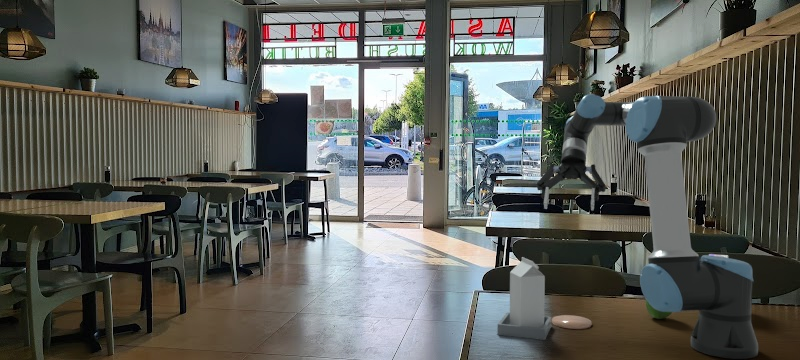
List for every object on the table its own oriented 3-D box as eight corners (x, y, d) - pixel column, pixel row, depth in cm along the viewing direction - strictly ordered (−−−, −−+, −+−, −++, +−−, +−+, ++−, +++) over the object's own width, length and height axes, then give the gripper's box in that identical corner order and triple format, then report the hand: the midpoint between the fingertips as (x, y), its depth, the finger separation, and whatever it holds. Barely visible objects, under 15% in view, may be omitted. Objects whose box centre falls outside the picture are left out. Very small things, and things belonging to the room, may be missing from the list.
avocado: (644, 320, 185) (645, 279, 184) (646, 313, 192) (647, 274, 191) (673, 323, 181) (675, 282, 180) (674, 316, 188) (675, 277, 188)
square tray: (551, 326, 178) (551, 316, 178) (544, 339, 167) (544, 329, 166) (506, 321, 183) (507, 312, 183) (497, 334, 171) (497, 324, 171)
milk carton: (520, 332, 170) (521, 262, 169) (509, 324, 177) (510, 257, 176) (544, 330, 172) (545, 261, 171) (532, 323, 179) (533, 256, 178)
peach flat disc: (599, 324, 180) (599, 321, 180) (574, 331, 174) (574, 328, 174) (568, 315, 189) (568, 313, 189) (543, 322, 183) (543, 319, 183)
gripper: (615, 164, 200) (612, 216, 187) (535, 163, 209) (527, 213, 196) (615, 147, 195) (612, 199, 182) (533, 147, 204) (525, 197, 190)
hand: (568, 206), depth 189 cm, fingers open, 13 cm apart
